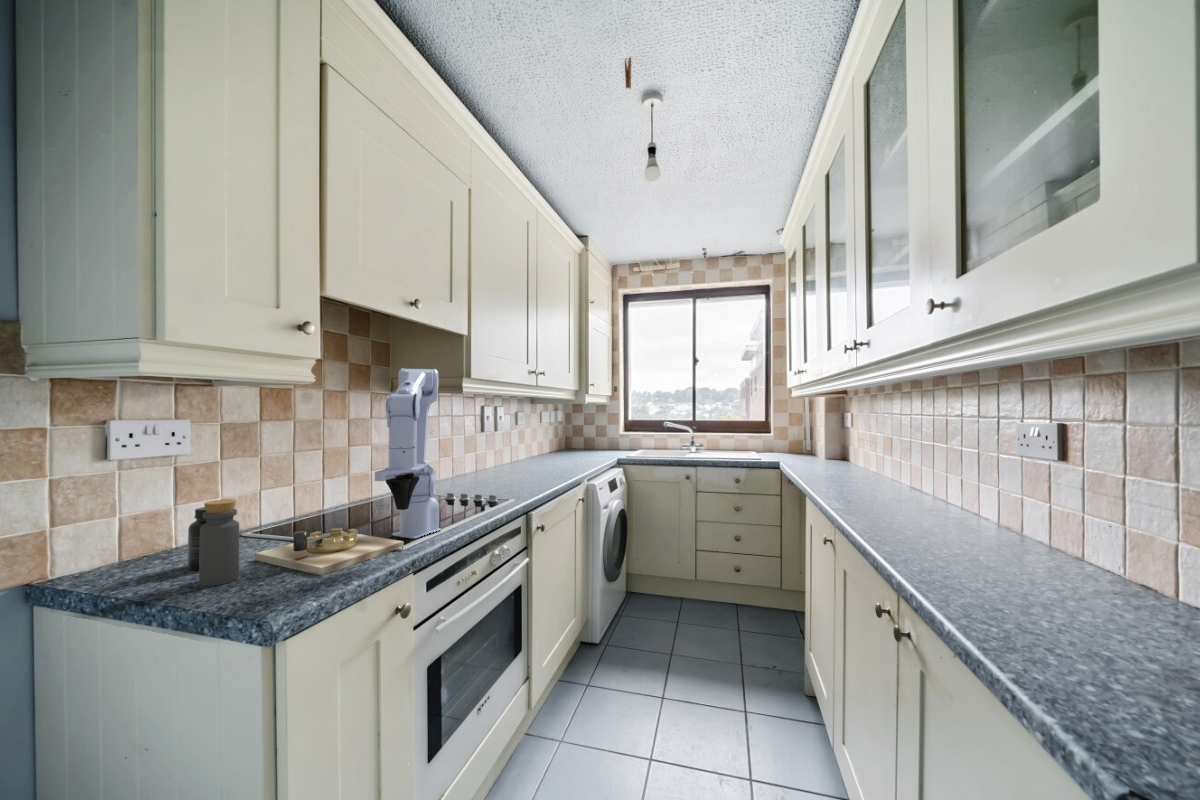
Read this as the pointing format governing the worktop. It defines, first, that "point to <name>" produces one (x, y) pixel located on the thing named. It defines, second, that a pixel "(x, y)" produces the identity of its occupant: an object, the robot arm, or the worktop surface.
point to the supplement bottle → (195, 539)
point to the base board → (328, 555)
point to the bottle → (219, 544)
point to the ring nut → (325, 541)
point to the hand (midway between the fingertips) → (402, 509)
